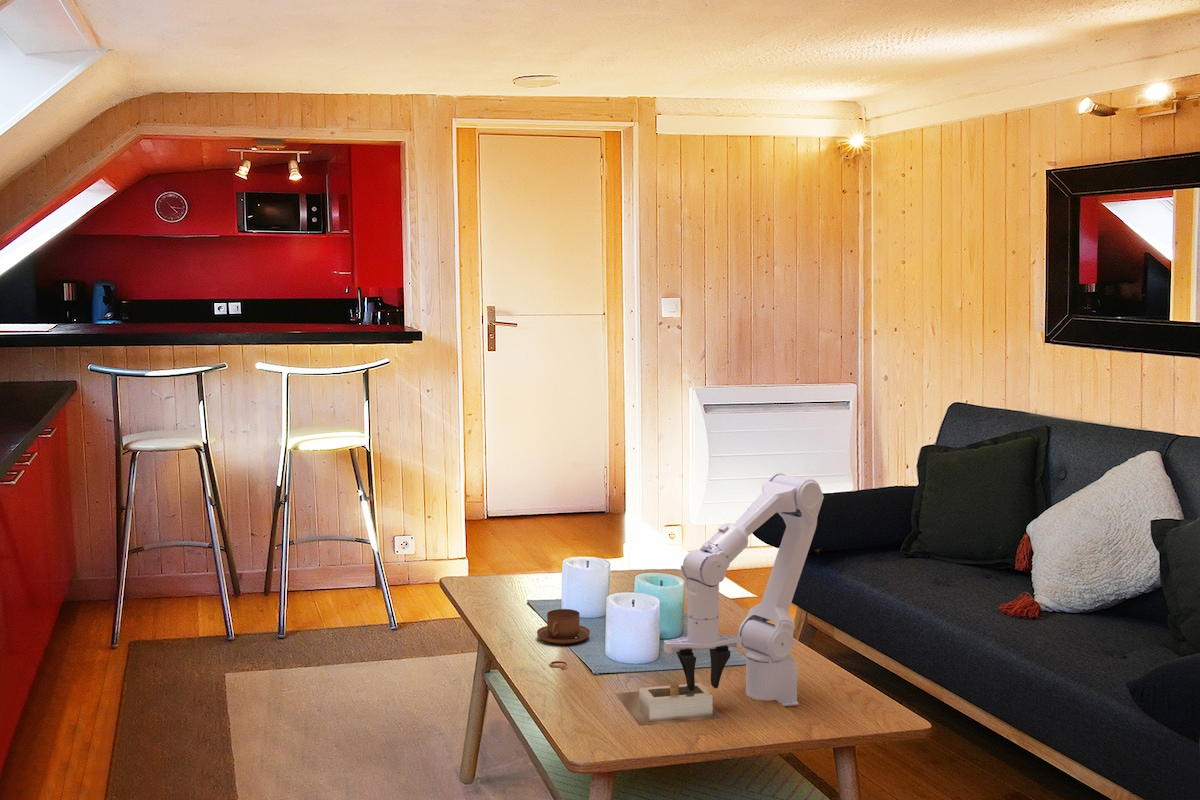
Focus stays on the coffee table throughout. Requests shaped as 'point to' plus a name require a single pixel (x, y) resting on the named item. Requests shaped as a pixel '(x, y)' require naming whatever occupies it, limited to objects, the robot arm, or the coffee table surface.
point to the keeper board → (632, 706)
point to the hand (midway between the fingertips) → (702, 687)
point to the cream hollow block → (675, 703)
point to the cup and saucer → (563, 627)
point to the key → (559, 665)
